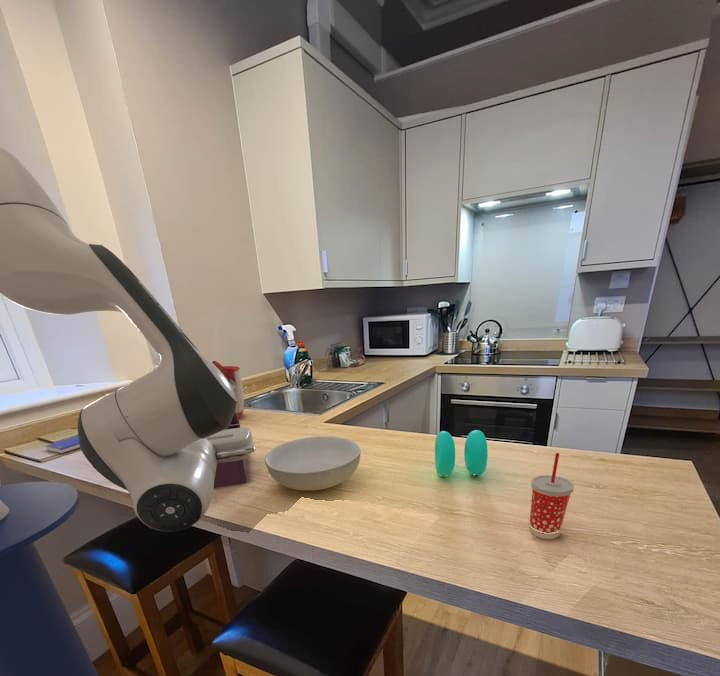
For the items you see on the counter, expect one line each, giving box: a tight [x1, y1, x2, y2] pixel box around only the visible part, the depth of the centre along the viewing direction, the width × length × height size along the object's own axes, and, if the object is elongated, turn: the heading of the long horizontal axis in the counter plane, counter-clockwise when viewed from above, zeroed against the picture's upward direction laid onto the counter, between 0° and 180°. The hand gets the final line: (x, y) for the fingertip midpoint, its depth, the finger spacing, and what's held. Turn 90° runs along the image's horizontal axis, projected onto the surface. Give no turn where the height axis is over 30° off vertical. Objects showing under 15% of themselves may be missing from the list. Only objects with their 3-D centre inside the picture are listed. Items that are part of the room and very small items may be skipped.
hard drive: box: [45, 435, 81, 454], centre depth 121 cm, size 2×8×12 cm
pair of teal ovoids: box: [434, 429, 488, 478], centre depth 85 cm, size 10×10×10 cm
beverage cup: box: [528, 452, 575, 540], centre depth 62 cm, size 6×6×14 cm
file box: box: [214, 424, 248, 488], centre depth 94 cm, size 18×14×9 cm
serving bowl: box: [264, 436, 362, 492], centre depth 87 cm, size 21×21×7 cm
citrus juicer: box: [211, 360, 245, 420], centre depth 135 cm, size 16×17×20 cm
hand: (195, 435), depth 72 cm, fingers closed
